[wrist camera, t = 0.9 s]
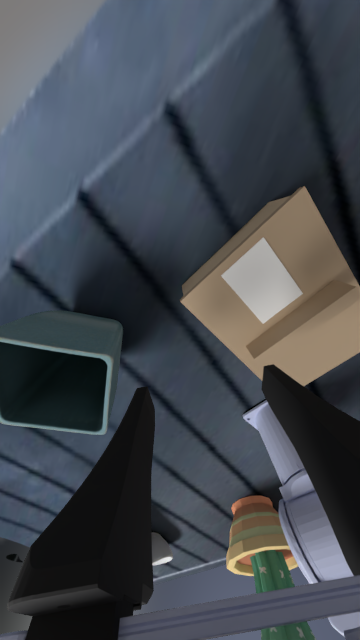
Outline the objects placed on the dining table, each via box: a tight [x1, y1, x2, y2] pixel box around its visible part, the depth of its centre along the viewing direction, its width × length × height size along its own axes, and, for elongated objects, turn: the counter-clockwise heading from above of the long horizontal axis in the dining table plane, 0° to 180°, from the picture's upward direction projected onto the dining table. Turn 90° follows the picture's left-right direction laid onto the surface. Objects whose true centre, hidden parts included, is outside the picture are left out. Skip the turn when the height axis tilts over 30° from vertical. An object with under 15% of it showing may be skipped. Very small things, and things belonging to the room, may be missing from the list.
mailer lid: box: [180, 186, 360, 386], centre depth 16 cm, size 16×12×3 cm
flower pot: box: [0, 311, 123, 435], centre depth 18 cm, size 9×9×9 cm
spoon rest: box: [152, 532, 173, 565], centre depth 42 cm, size 24×12×7 cm, turn 12°
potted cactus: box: [226, 496, 316, 640], centre depth 31 cm, size 15×15×25 cm
